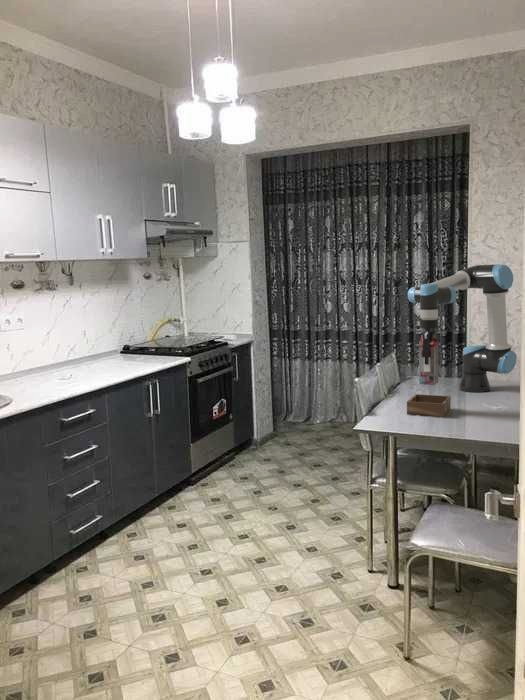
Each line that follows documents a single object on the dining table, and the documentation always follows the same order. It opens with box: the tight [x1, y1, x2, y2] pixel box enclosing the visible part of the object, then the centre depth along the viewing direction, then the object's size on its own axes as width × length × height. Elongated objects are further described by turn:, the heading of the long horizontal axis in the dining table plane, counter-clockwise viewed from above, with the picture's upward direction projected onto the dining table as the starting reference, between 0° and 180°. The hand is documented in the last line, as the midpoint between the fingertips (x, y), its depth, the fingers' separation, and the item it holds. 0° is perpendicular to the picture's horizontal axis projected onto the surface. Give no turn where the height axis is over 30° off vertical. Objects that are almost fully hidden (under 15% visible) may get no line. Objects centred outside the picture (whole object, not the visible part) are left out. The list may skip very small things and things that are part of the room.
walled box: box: [406, 393, 452, 418], centre depth 266 cm, size 16×16×6 cm
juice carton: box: [418, 333, 439, 386], centre depth 263 cm, size 7×7×22 cm
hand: (428, 369), depth 264 cm, fingers closed on juice carton, 7 cm apart
